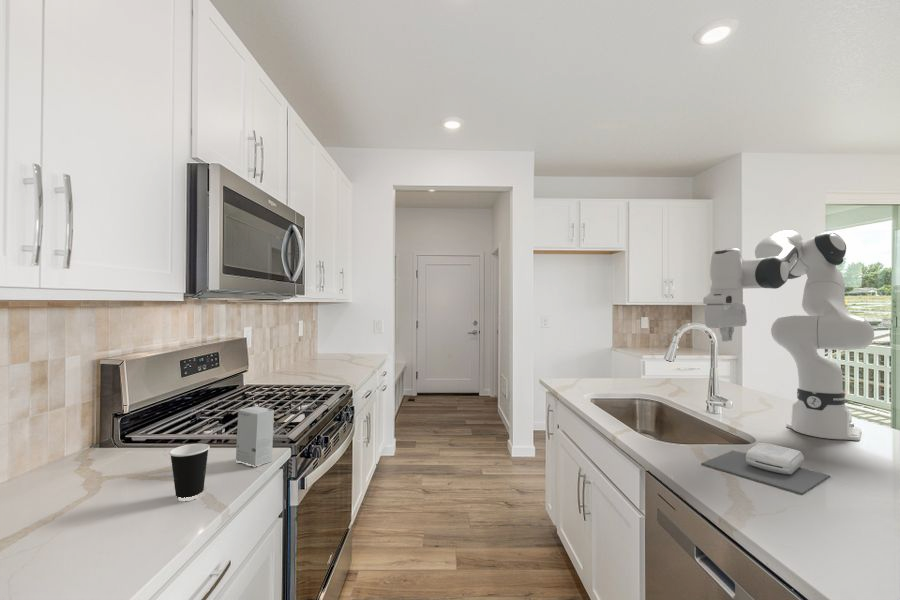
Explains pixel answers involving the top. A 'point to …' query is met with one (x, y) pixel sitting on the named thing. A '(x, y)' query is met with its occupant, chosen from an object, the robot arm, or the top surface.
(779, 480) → the mat
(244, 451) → the skincare box
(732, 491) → the top surface
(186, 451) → the dixie cup
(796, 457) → the photo printer
